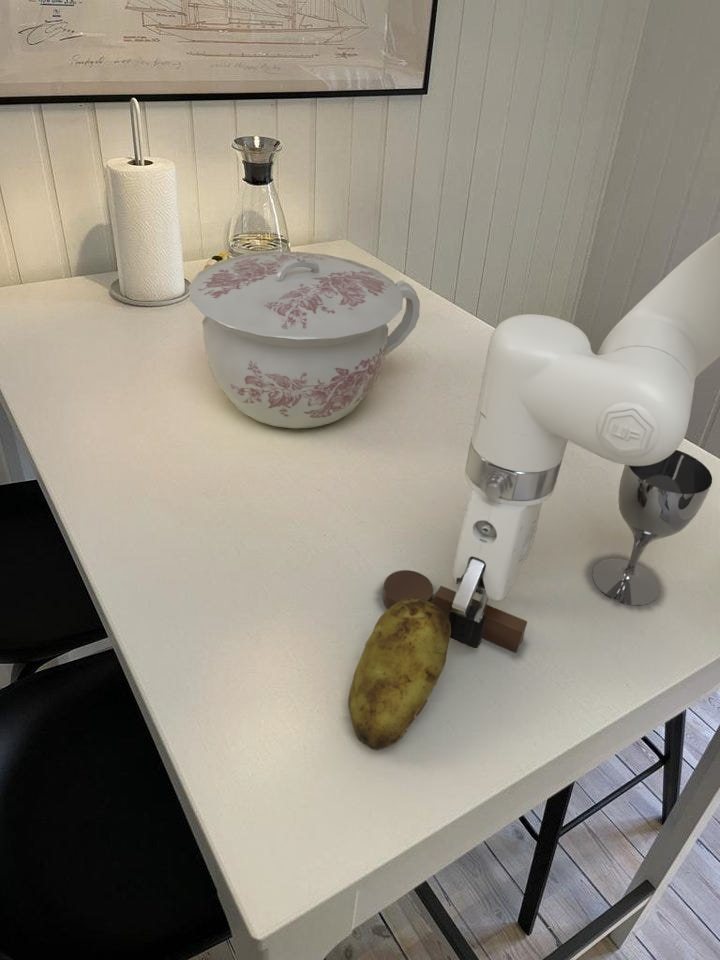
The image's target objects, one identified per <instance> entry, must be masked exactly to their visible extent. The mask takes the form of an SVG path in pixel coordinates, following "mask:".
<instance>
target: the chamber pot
mask: <svg viewBox="0 0 720 960" xmlns="http://www.w3.org/2000/svg"><path fill="white" fill-rule="evenodd" d="M188 294H189V302H191V303H192V304H193V305H194V307H196V308H197V310H199V312H200V313H201V314H202V315H203V316H204V318H203V319H202V337H203V338H202V339H203V346H204V353H205V356H206V359H207V363H208V366H209V370H210V374H211V377H212V379H213V380H214V381H215V383H216V384H217V385H218V386H219V388H220V389H221V390H222V391H223V393H224V394H225V395H226V397H227V398H228V399H229V401H230V402H231V403H232V404H233V405H234V406H235V407H236V409H237V410H238V411H239V412H241V413H243V415H245V416H247V417H249V418H251V419H253V420H254V421H256V422H259V423H262V424H266V425H269V426H272V427H277V428H286V429H287V428H288V429H310V428H318V427H322V426H326V425H329V424H333V423H335V422H337V421H339V420H341V419H342V418H344V417H346V416H348V415H349V414H351V413H352V412H353V411H354V410H355V408H356V407H357V406H358V405H359V404H360V403H361V401H362V400H364V398H365V397H366V395H368V394H369V392H370V391H371V390H372V389H373V388H374V386H376V385H377V383H378V381H379V377H380V375H381V372H382V368H383V367H384V366H383V365H384V364H385V360H386V357H387V356H388V355H389V354H390V353H391V352H393V351H394V350H395V349H397V348H398V347H399V346H400V345H402V344H403V343H404V342H405V340H406V339H407V338H408V336H409V335H410V334H411V333H412V332H413V331H414V329H415V328H416V326H417V323H418V320H419V319H420V309H421V303H420V299H419V296H418V293H417V292H416V290H415V289H414V287H413V286H412V285H411V284H409V283H408V282H406V281H405V280H398V281H397V282H396V283H395V281H394V280H393V279H391V278H390V277H388V276H386V275H385V274H384V273H382V272H381V271H379V270H377V269H376V268H374V267H370V266H369V265H366V264H363V263H361V262H358V261H356V260H352V259H348V258H342V257H340V256H339V257H338V256H334V255H330V254H324V253H314V252H304V251H264V252H256V253H250V254H241V255H240V254H239V255H237V256H233V257H230V258H227V259H223V260H220V261H217V262H214V263H213V264H211V265H209V266H208V267H205V268H204V269H202V270H201V271H199V272H197V274H196V276H195V277H194V278H193V280H192V281H191V282H190V284H189V286H188ZM404 299H405V311H404V314H403V316H402V319H401V321H400V323H399V324H398V325H396V327H395V328H394V329H393V330H392V331H391V333H390V334H389V326H388V325H387V324H388V323H390V322H392V320H393V319H394V318H396V317H397V315H398V314H399V313H400V312H401V311H402V310H403V304H404Z"/></svg>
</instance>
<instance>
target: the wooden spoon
mask: <svg viewBox="0 0 720 960" xmlns="http://www.w3.org/2000/svg"><path fill="white" fill-rule="evenodd" d="M455 594H456V590H453V589H451V588H448V587H446V586H443V585H440V586H439V588H438V589H437V591H436V592H435V593H434V586H433V583H432V582H431V580H430V579H429V578H428V576H426V575H424V574H422V573H420V572H418V571H415V570H409V569H401V570H397V571H394V572H392V573H390V574H388V576H387V577H386V578H385V580H384V582H383V588H382V602H383V605H384V607H385V608H386V610H388V609H389V608H390V607H391V606H392V605H393V604H395V603H396V602H398V601H399V600H403V599H406V598H421V599H425V600H427V601H429V602H431V603H433V604H434V605H436V606H437V607H439V608H440V609H441V610H442V611H444V612H446V615H447V617H448V618H449V615H450V610H451V606H452V603H453V600H454V597H455ZM479 602H480V600H478V599H475V598H473V599H472V606H474V607H477V608H478V605H479ZM484 615H485V616H486V620H485V624H484V628H483V632H482V636H481V640H485V641H487V642H489V643H491V644H494V645H497V646H499V647H501V648H503V649H506V650H508V651H510V652H512V653H514V654H517V652H518V651H519V648H520V647H521V644H522V641H523V638H524V635H525V632H526V629H527V624H528V620H525V619H522V618H520V617H518V616H515V615H513V614H511V613H509V612H507V611H504V610H501V609H499V608H496V607H494V606H492V605H489V604H487V605H486V608H485V611H484Z"/></svg>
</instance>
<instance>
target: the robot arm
mask: <svg viewBox="0 0 720 960" xmlns="http://www.w3.org/2000/svg"><path fill="white" fill-rule="evenodd" d="M718 358H720V231H719V232H718V233H717V234H715V235H714V236H713V237H711V238H710V239H709V240H707V241H706V242H705V243H703V244H702V245H701V246H699V247H698V248H697V249H696V250H694V251H692V253H691V254H690V255H688V256H687V257H686V258H685V259H683V261H681V262H680V263H679V264H678V265H677V266H676V267H675V268H673V269H672V270H671V271H670V272H669V273H668V274H667V275H666V276H665V277H664V278H662V280H661V281H659V283H658V284H657V285H655V286H654V287H653V288H652V289H651V290H650V291H649V292H648V293H647V294H646V295H645V296H644V297H643V298H642V299H641V300H640V301H639V302H637V304H636V305H635V306H633V307H632V308H631V309H630V310H629V311H628V312H627V313H626V314H625V315H624V316H623V317H622V318H621V319H620V320H619V321H618V323H617V324H615V325H614V327H613V328H612V329H611V330H610V331H609V333H608V334H607V335H606V337H605V338H604V339H603V341H602V343H601V345H600V347H599V349H598V351H597V353H596V354H595V353H594V352H593V350H592V347H591V342H590V340H589V338H588V336H587V335H586V334H585V332H583V331H582V329H581V328H579V327H577V325H575V324H573V323H572V322H570V321H567V320H564V319H561V318H558V317H554V316H551V315H544V314H536V313H530V314H527V313H526V314H525V313H524V314H517V315H513V316H511V317H508V318H506V319H504V320H502V321H501V322H500V323H499V324H497V326H496V327H495V329H494V330H493V331H492V334H491V336H490V340H489V343H488V348H487V353H486V357H485V364H484V369H483V375H482V380H481V385H480V390H479V395H478V401H477V406H476V412H475V416H474V423H473V427H472V431H471V437H470V443H469V448H468V452H467V457H466V464H465V469H464V477H465V480H466V482H467V484H468V485H469V487H470V488H471V491H470V495H469V499H468V502H467V506H466V509H465V513H464V518H463V522H462V525H461V530H460V533H459V538H458V543H457V546H456V547H457V548H456V551H455V556H454V562H453V568H452V581H453V582H454V584H455V585H456V586H457V589H456V590H455V592H456V594H455V597H454V600H453V603H452V606H451V610H450V615H449V621H450V622H451V634H450V640H454V641H456V642H458V643H460V644H463V645H465V646H467V647H469V648H472V649H474V650H475V649H476V650H477V649H478V648H479V646H480V644H481V640H482V638H481V636H482V632H483V628H484V624H485V620H486V616H485V615H484V611H485V608H486V605H488V602H489V599H491V600H492V601H495V602H500V601H502V600H504V599H506V597H507V595H508V594H509V592H510V590H511V588H512V587H513V585H514V583H515V581H516V580H517V578H518V576H519V573H520V572H521V570H522V568H523V566H524V564H525V562H526V561H527V558H528V556H529V554H530V552H531V550H532V548H533V544H534V542H535V537H536V533H537V529H538V528H537V527H538V524H539V519H540V515H541V510H542V506H543V503H544V502H546V501H547V500H549V498H550V497H551V496H552V495H553V494H554V490H555V487H556V484H557V481H558V478H559V477H558V476H559V473H560V470H561V466H562V463H563V459H564V456H565V452H566V448H567V445H568V442H569V443H572V444H575V445H576V446H578V447H580V448H581V449H584V450H586V451H588V452H590V453H592V454H594V455H596V456H598V457H600V458H602V459H605V460H608V461H610V462H613V463H617V464H620V465H623V466H625V465H629V466H646V465H651V464H655V463H658V462H660V461H662V460H664V459H666V458H667V457H669V456H670V455H671V454H672V453H673V452H674V451H675V450H678V448H679V447H680V446H681V444H682V442H683V441H684V439H685V437H686V434H687V431H688V427H689V423H690V417H691V413H692V412H691V410H692V404H693V398H694V390H695V383H696V378H697V377H698V376H699V375H700V374H701V373H702V372H703V371H705V370H706V369H707V368H708V367H709V366H710V365H711V364H712V363H714V362H715V361H716V360H717V359H718ZM476 593H477V594H479V595H481V596H480V599H479V601H480V602H479V605H478V608H477V607H474V606H472V599H474V597H475V594H476Z"/></svg>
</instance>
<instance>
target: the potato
mask: <svg viewBox="0 0 720 960" xmlns="http://www.w3.org/2000/svg"><path fill="white" fill-rule="evenodd" d="M450 634H451V622H450V621H449V618H448V617H447V615H446V612H444V611H442V610H441V609H440V608H439V607H437V606H436V605H434V604H433V603H431V602H429V601H427V600H425V599H421V598H406V599H403V600H399V601H398V602H396V603H395V604H393V605H392V606H391V607H390V608H389V609H386V610H385V611H384V612H383V613H382V615H380V616H379V618H378V620H377V622H376V623H375V625H374V628H373V629H372V632H371V634H370V636H369V638H368V639H367V641H366V642H365V644H364V647H363V649H362V653H361V656H360V658H359V660H358V663H357V666H356V668H355V671H354V674H353V677H352V680H351V684H350V687H349V688H350V689H349V693H348V699H347V702H348V703H347V705H348V706H347V707H348V713H349V716H350V720H351V722H352V727H353V731H354V735H355V736H356V739H357V740H358V741H359V742H360V743H362V744H363V745H365V746H366V747H368V748H370V749H371V750H375V751H378V750H384V749H386V748H389V747H391V746H393V745H395V744H396V743H397V742H399V740H401V739H402V738H403V737H404V735H406V733H407V729H408V728H409V726H410V725H411V724H412V723H413V722H414V720H416V719H415V718H416V717H417V716H418V715H420V713H421V712H422V710H423V708H424V706H425V705H426V704H427V702H428V699H429V697H430V695H431V694H432V692H433V689H434V688H435V686H436V685H437V682H438V680H439V678H440V676H441V674H442V672H443V669H444V667H445V664H446V661H447V654H448V648H449V642H450V640H451V638H450Z"/></svg>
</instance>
